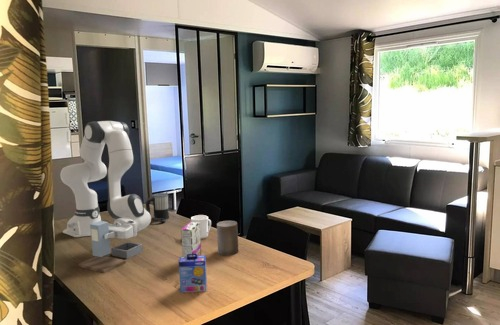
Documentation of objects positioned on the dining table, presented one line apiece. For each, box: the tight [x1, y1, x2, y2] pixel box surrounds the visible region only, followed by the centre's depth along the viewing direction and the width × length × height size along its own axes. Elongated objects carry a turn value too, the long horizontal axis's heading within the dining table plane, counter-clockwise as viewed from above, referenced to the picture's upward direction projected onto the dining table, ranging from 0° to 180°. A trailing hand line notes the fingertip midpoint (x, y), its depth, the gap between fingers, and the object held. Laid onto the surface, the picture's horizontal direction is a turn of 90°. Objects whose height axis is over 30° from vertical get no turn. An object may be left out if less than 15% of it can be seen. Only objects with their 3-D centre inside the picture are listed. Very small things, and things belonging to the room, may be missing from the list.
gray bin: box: [111, 241, 144, 260], centre depth 192 cm, size 10×10×4 cm
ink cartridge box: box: [178, 254, 208, 293], centre depth 152 cm, size 10×6×14 cm, turn 95°
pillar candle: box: [216, 220, 240, 256], centre depth 190 cm, size 10×10×15 cm
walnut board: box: [78, 255, 127, 274], centre depth 179 cm, size 16×12×1 cm
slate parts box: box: [90, 220, 112, 257], centre depth 177 cm, size 5×6×14 cm
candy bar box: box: [180, 221, 202, 257], centre depth 179 cm, size 11×5×16 cm, turn 168°
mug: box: [190, 214, 212, 240], centre depth 213 cm, size 11×9×10 cm
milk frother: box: [145, 192, 170, 223], centre depth 246 cm, size 14×16×15 cm
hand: (98, 236), depth 176 cm, fingers closed on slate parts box, 5 cm apart
